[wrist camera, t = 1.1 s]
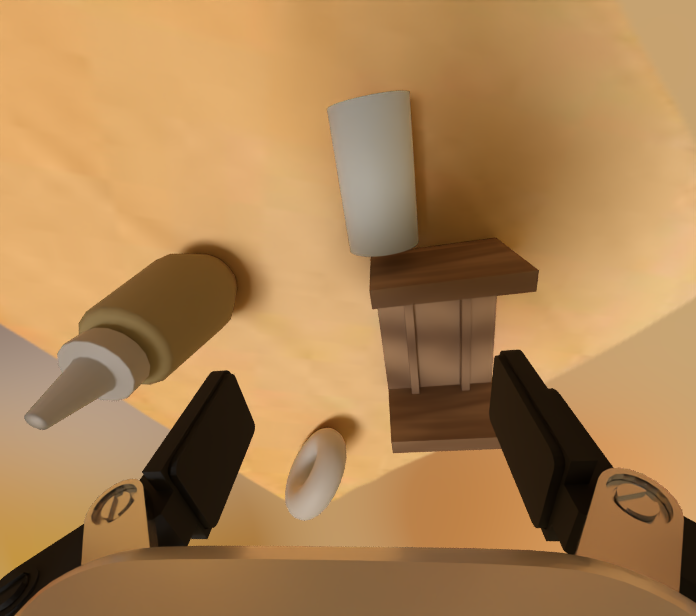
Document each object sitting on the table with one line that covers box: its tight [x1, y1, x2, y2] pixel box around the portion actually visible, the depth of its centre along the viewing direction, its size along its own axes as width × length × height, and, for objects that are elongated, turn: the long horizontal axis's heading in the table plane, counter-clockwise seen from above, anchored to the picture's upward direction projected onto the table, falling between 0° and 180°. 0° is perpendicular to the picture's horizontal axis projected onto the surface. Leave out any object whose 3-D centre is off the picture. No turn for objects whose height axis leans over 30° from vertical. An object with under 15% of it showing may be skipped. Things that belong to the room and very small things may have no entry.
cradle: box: [370, 238, 539, 453], centre depth 28 cm, size 17×11×8 cm, turn 10°
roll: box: [327, 91, 419, 257], centre depth 23 cm, size 10×6×6 cm, turn 10°
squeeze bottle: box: [24, 254, 237, 430], centre depth 23 cm, size 8×8×18 cm
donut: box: [285, 428, 346, 521], centre depth 36 cm, size 10×4×10 cm, turn 144°
